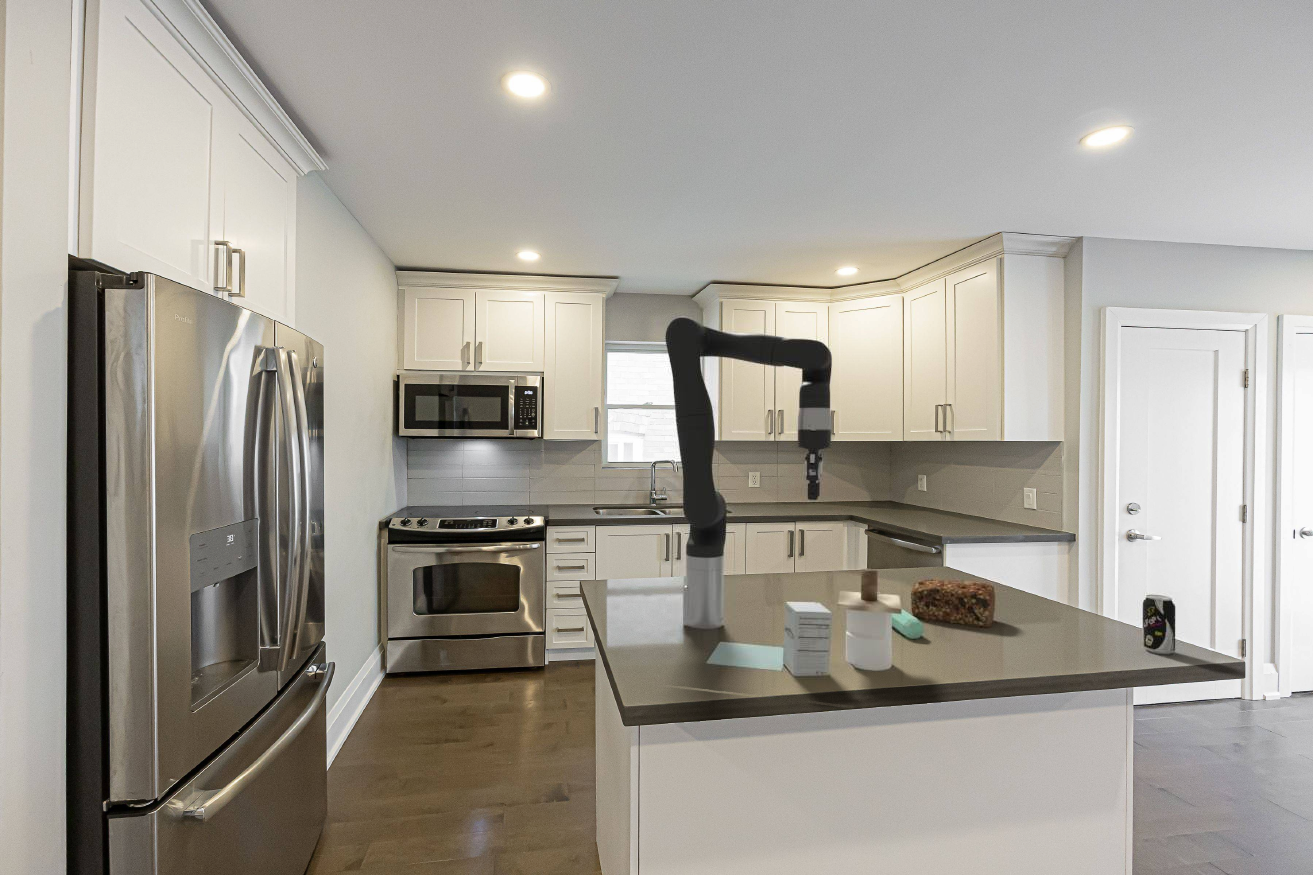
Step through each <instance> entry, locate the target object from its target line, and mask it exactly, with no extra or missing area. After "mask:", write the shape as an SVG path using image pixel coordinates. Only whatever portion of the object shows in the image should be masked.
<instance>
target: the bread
mask: <svg viewBox="0 0 1313 875" xmlns="http://www.w3.org/2000/svg"><path fill="white" fill-rule="evenodd" d="M910 599H911V600H910V602H911V603H910V604H911V613H912V614H911V615H912V616H914V617H915V618H917V619H923V620H928V619H929V621H934V622H944V623H950V624H956V623H957V624H958V623H959V625H964V626H969V627H970V626H972V627H983V628H986V627H990V626H991V625H992V624H993V621H994V618H995V617H994V615H995V610H996V593H995V587H994V586H993V585H990V584H988V583H987V582H977V581H967V580H947V579H945V580H944V579H933V578H931V579H929V578H926V579H925V578H924V579H921V580H918V581H917V582H915V583H914V584H913V587H912V588H911V592H910Z"/></svg>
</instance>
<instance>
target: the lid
mask: <svg viewBox="0 0 1313 875" xmlns="http://www.w3.org/2000/svg"><path fill="white" fill-rule="evenodd" d="M878 572H879V571H878V570H877V569H875V568H862V569H861V570H860V592H858V591H857V592H856V591H846V590H845V591H844V590H839V595H838V598H837V599H838V600H837V609H838V610H858V611H870V612H882V613H895V614H902V609H903V608H902V604H901V598H900V595H899V594H898V595H897V594H885V593H884V594H883V593H882V594H877V592H878V579H879V578H878Z"/></svg>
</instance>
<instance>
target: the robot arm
mask: <svg viewBox="0 0 1313 875" xmlns="http://www.w3.org/2000/svg"><path fill="white" fill-rule="evenodd" d="M664 338H665V345H666V349H667V353H668V354H667V355H668V359H669V363H670V370H671V373H672V374H671V375H672V384H673V399H674V409H675V410H674V411H675V422H676V431H677V432H676V433H677V440H678V448H679V453H680V454H679V456H680V462H681V468H682V508H683V515H684V517H685V519H686V521H687V522H688V523H689V533H688V534H689V535H688V539H687V542H686V545H685V585H684V587H683V603H682V604H683V607H682V608H683V609H682V610H683V613H682V614H683V618H682V620H683V621H682V622H683V624H682V626H685V627H689V628H690V627H691V628H694V629H699V630H700V629H701V630H711V629H713V630H715V629H717V628H721V627H723V626H724V579H725V578H724V572H725V571H724V568H725V567H724V566H725V564H724V562H725V560H724V558H725V557H724V556H725V552H724V550H725V544H726V541H727V540H726V539H727V537H726V536H727V504H726V500H725V498H724V496H723V494H721V493H720V492H719V491H718V490H716V488H715V482H714V475H713V474H714V473H713V458H714V451H715V444H716V442H715V441H716V430H715V418H714V411H713V406H712V401H711V398H710V395H709V392H708V388H707V386H706V383H705V381H704V377H703V373H702V368H701V367H702V366H701V357H711V358H712V357H714V358H715V357H716V358H727V359H734V360H739V361H744V362H748V363H753V364H758V365H764V366H772V367H778V368H779V367H780V368H781V367H789V368H795V369H800V370H801V385H800V387H799V392H798V393H799V395H798V399H799V400H798V416H797V448H798V449H806V450H807V451H808V453H806V455H805V457H804V464H805V468H804V470H805V475H806V476H805V479H806V482H807V499H808V500H809V501H817V500H818V498H819V496H820V495H821V494H820V493H821V492H820V491H821V490H820V489H821V488H820V487H821V485H820V484H821V483H820V481H821V479H822V477H821V476H822V474H823V465H824V456H822V453H821V450H825V449H826V450H828V449H829V450H830V449H831V447H832V415H831V386H830V385H831V379H832V378H831V376H832V370H833V368H832V366H833V358H832V352H831V350H830V348H829V347H828V346H827V345H826V344H825V343H824V342H822V341H821V340H815V339H807V338H793V337H792V338H789V337H788V338H787V337H783V336H779V335H778V336H777V335H770V334H763V333H750V332H749V333H748V332H747V333H746V332H745V333H742V332H727V331H722V330H718V329H714V328H712V327H708V326H705V325H704V324H701V323H700V322H699V321H697V320H695V319H693V318H691V317H687V316H678V317H676V318H674V319H673V320H672V321H671V322H669V323H668V325H667V327H666V332H665V337H664Z"/></svg>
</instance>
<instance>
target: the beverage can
mask: <svg viewBox="0 0 1313 875" xmlns="http://www.w3.org/2000/svg"><path fill="white" fill-rule="evenodd" d="M1141 640H1142V642H1141V643H1142V644H1141V645H1142V647H1143V648H1144V649H1145V650H1147V651H1148V652H1149V653H1152V654H1158V655H1171V654H1172V653H1174V652H1176V605H1175V603H1174V602H1173V598H1172V597H1171V596H1167V595H1161V594H1147V595H1146V597H1145V599H1144V600H1143V601H1142V639H1141Z"/></svg>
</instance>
